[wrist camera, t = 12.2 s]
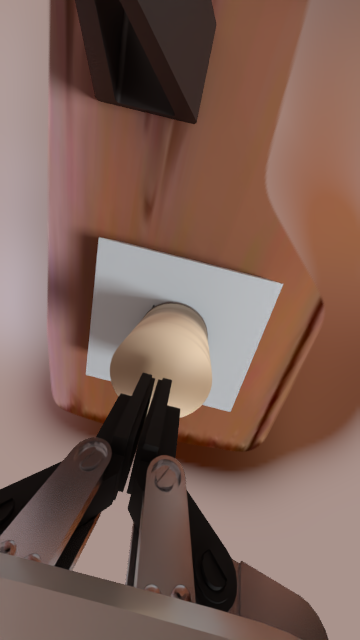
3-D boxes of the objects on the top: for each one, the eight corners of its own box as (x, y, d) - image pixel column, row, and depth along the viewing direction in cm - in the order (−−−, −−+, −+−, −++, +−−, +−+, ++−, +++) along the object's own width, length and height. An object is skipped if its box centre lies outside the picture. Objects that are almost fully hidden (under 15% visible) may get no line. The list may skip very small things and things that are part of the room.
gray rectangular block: (119, 240, 21) (98, 237, 17) (265, 278, 21) (283, 284, 16) (104, 354, 25) (85, 374, 21) (224, 385, 25) (230, 411, 21)
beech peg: (155, 287, 22) (116, 316, 11) (212, 301, 22) (227, 345, 11) (144, 339, 24) (103, 406, 13) (197, 353, 24) (197, 430, 13)
